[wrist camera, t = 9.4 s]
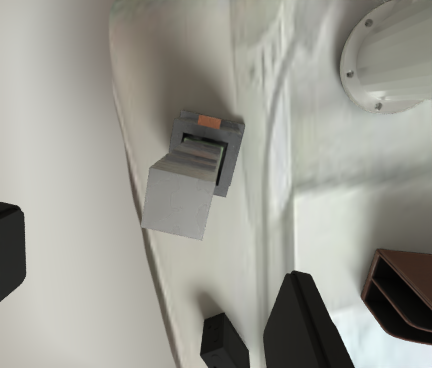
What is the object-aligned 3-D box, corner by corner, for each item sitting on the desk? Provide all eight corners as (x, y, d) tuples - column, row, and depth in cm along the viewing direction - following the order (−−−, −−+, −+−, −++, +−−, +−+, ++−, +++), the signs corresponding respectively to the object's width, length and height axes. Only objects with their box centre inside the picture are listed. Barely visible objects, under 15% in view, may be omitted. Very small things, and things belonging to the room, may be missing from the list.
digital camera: (198, 321, 46) (192, 357, 39) (223, 311, 45) (222, 347, 38) (223, 359, 48) (222, 399, 41) (248, 350, 47) (251, 390, 40)
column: (186, 136, 28) (147, 162, 14) (224, 144, 28) (219, 179, 14) (179, 173, 29) (138, 229, 16) (215, 181, 29) (203, 244, 16)
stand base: (182, 107, 34) (169, 108, 27) (245, 122, 34) (250, 127, 27) (171, 170, 37) (157, 187, 29) (229, 184, 37) (230, 204, 30)
